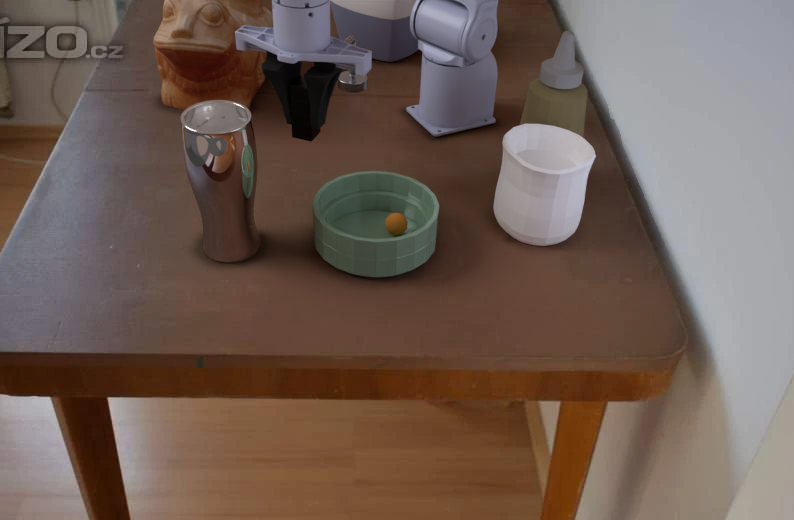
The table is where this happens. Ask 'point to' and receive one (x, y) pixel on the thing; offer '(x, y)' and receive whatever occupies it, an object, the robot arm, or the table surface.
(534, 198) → the cup
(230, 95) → the frog figurine
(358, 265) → the soup bowl
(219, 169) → the beer glass
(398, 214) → the orange ball
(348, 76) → the ladle
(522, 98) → the table surface
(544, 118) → the squeeze bottle
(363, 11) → the grey and white container
